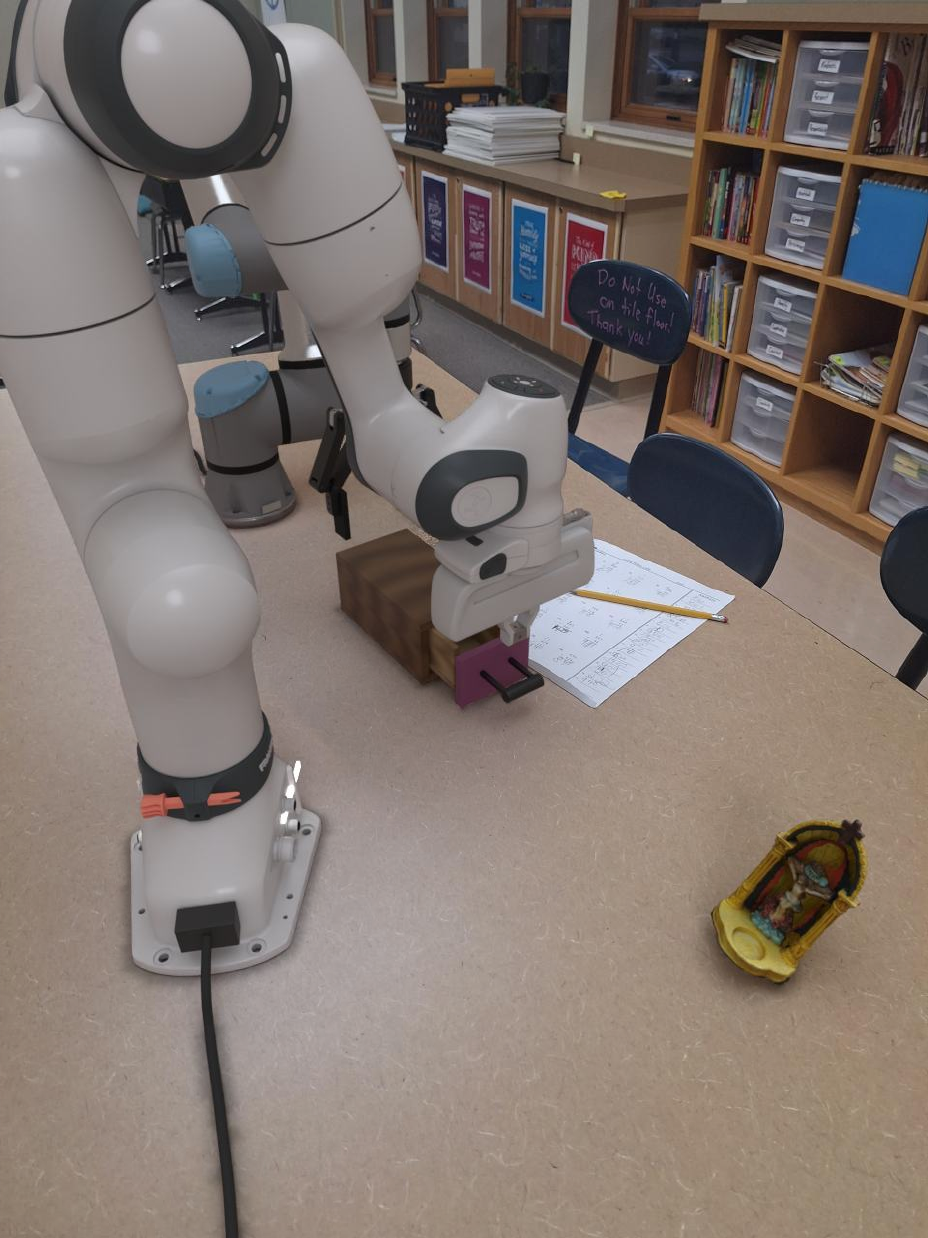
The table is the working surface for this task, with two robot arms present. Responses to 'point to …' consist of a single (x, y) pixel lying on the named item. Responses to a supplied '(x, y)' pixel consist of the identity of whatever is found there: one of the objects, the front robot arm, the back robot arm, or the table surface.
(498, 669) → the drawer
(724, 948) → the shrine
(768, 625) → the table surface
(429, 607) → the cabinet
